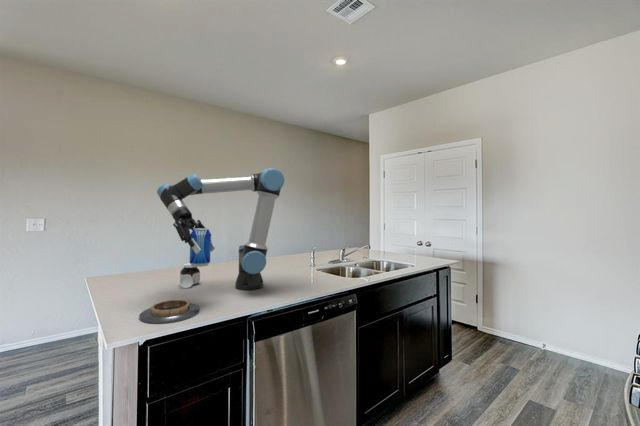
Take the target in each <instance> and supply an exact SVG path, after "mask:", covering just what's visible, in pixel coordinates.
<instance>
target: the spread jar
mask: <svg viewBox="0 0 640 426" xmlns="http://www.w3.org/2000/svg"><path fill="white" fill-rule="evenodd" d="M200 282H201V271H200V269H199V267H196V266H191V264H190V262H187V263H184V264H183V267H182V269H181V270H180V272H179V285H180V287H182V288H184V289H189V288H191V287H194V286H196V285H198V284H199V283H200Z"/></svg>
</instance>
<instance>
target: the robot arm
mask: <svg viewBox="0 0 640 426" xmlns="http://www.w3.org/2000/svg"><path fill="white" fill-rule="evenodd" d="M284 185H285V176H284V174H283V172H282V171H280V169H278V168H274V167H269V168H266V169H264V170H263V171H262V172H258V173H252V174H250V175H249V176H233V177H232V176H231V177H220V178H219V177H217V178H204V179H200V178H199V177H198V174H196V173H192V174H190V175H188V176H187V177H185V178H183V179H181V181H178V182H177V183H176V184H173V185H172V184H170V183H166V184H161V185H160V186H159V187H158V189H156V190H157V191H156V192H157V196H158V197H159V199H160V201H161V202H162V203H163V205H164V206H165V208H166V209H167V210H168V212H169V213H170V215H171V217H172V218H173V220H174V223H173V224H172V226H174V228H175V229H176V232H177V234H178V236H179V238H180V241H182V242H184V243H185V244H188V246H189V248H190V247H192V249H193V250H194V252H195V253H196V254H198V253H199V251H200V250H201V249H200V247H199V246H198V244H197V243H196V242H195V240H194V239H193V238H192V239H191V235H190V234H191V232H192V231H193V229H195V228H206V226H205V225H204V224H203V223H202V221H201V220H200V219H197V220H195V219H194V218H193V213H192V212H191V211H190V209H189V208H188V206H187V204H186V203H185V202H184V201H183V199H185V198H187V197H189V196H194V195H203V194H216V193H230V192H231V193H232V192H242V191H252V192H256V193H257V195H258V197H257V203H256V206H255V212H254V214H253V215H254V216H253V220H252V226H251V229H250V233H249V238H248V241H247V242H245V244H244V245H243V244H242V245H239V246H238V274H237V277H236V279H235V280H236V281H235V283H234V284H235V285H234V287H235V289H237V290H240V291H241V290H243V291H252V290H259V289H261V288H262V289H263V287H264V279H263V276H262V274H261V273H262V272H263V271H264V269H265V268H266V265H267V258H266V257H267V253H268V247H267V245H266V244H267V238H268V234H269V231H270V226H271V222H272V221H271V220H272V218H273V217H272V216H273V211H274V207H275V203H276V199H278V198H280V194H281V190H282V188H283V186H284ZM190 230H191V231H190ZM216 248H217V247H216V245H214V243H213V241H212V240H211V250H210V253H211V252H213V251H214V250H215V249H216Z"/></svg>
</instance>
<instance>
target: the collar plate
mask: <svg viewBox="0 0 640 426" xmlns="http://www.w3.org/2000/svg"><path fill="white" fill-rule="evenodd" d="M200 310H201V307H200V306H199V305H198V304H196V303H191V302H190V301H189V300H184V299H171V300H170V299H169V300H164V301H159V302H156V303H154V304H153V305H151V306H150V308H146V309H144V310H143V311H142V312H141V313H139V315H138V316H139V317H138V319H139V321H140V322H142V323H146V324H150V325H151V324H153V325H159V324H160V325H164V324H173V323H178V322H182V321H185V320H188V319H191V318H194V317H196V316H197V315H198V314H199V313H200Z"/></svg>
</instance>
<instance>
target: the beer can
mask: <svg viewBox="0 0 640 426" xmlns="http://www.w3.org/2000/svg"><path fill="white" fill-rule="evenodd" d="M190 235H191V239H192V238H193V239H194V240H195V242H196V243H197V244H198V246H199V247H200V249H201V250H200V251H199V253H198V254H196V253H195V252H194V250H193V249H192V247H190V246H189V263H190V264H191V266H196V267H197V268H199V267H208V266H209V264H210V263H211V251H210V250H211V241H212V233H211V231H210V228H206V227H205V228H195V229H193V231H192V230H191V231H190Z"/></svg>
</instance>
